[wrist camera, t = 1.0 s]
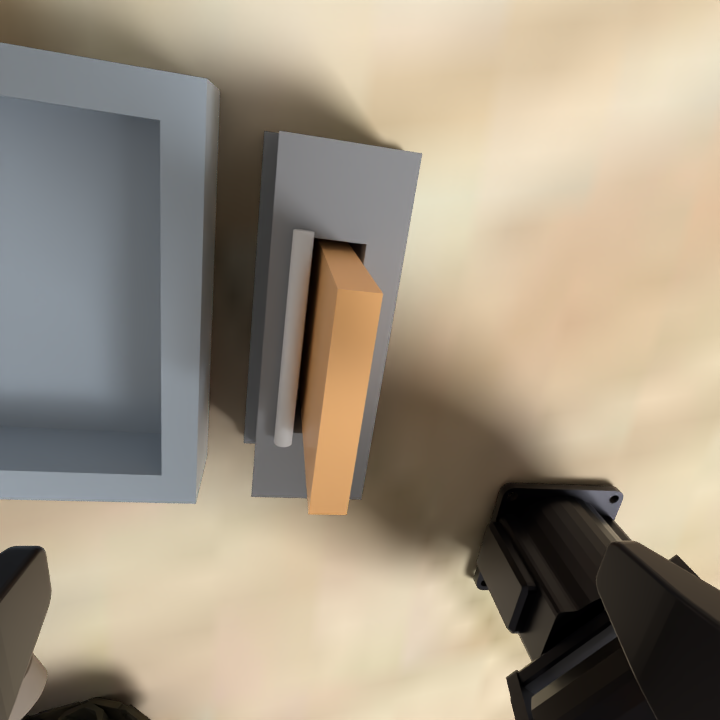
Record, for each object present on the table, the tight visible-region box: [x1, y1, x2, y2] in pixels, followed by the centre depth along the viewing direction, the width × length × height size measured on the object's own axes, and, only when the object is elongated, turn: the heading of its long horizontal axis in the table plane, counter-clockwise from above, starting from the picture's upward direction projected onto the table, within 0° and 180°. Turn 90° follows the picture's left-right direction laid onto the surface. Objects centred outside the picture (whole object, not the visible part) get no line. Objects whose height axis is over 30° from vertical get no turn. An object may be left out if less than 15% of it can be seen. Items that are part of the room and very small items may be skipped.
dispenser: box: [244, 131, 422, 499], centre depth 18 cm, size 5×12×5 cm, turn 172°
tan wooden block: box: [299, 238, 383, 515], centre depth 16 cm, size 1×6×8 cm, turn 172°
